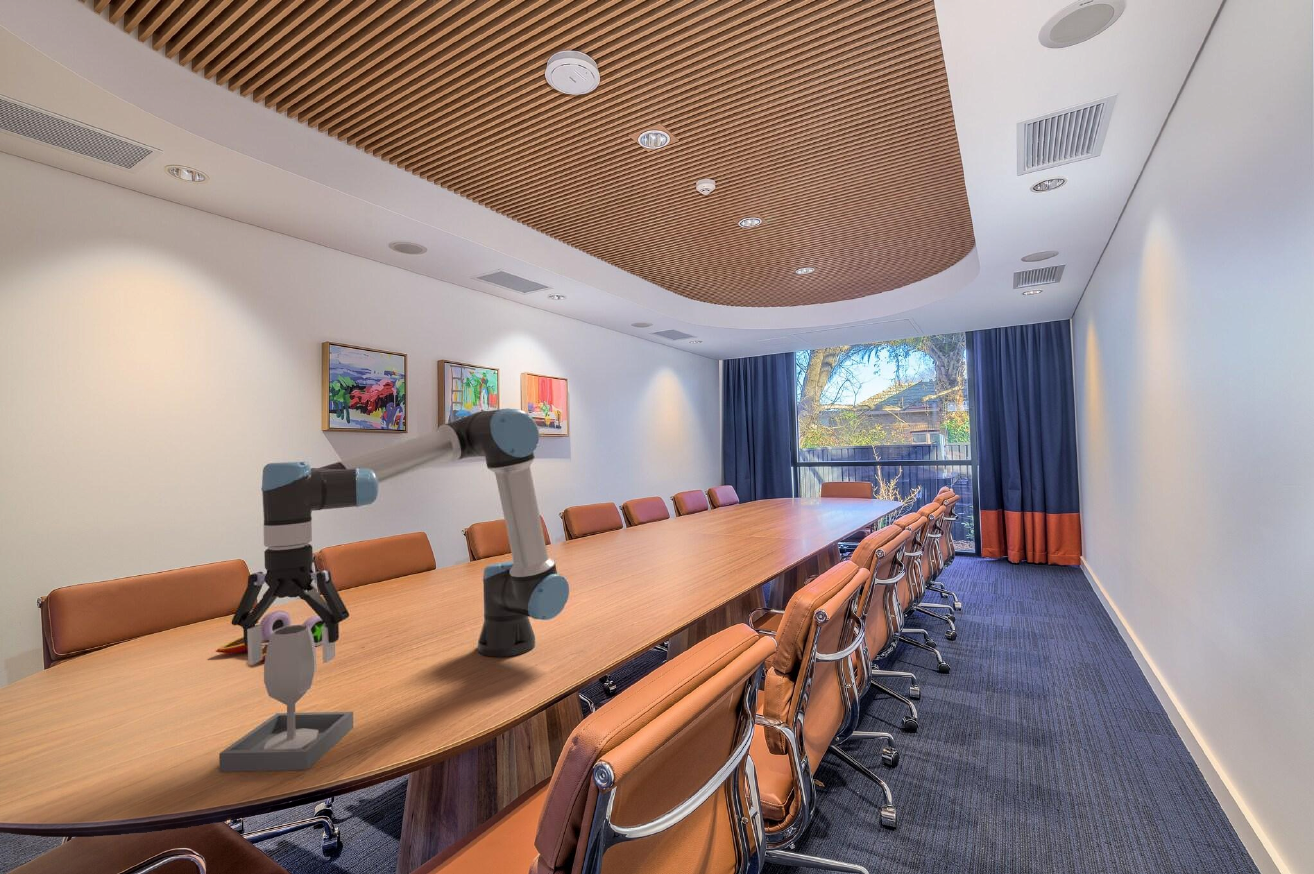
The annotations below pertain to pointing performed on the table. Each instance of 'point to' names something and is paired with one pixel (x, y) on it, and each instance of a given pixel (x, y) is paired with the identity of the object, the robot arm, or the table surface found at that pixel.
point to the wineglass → (290, 680)
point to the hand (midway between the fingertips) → (292, 661)
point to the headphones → (273, 623)
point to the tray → (255, 758)
